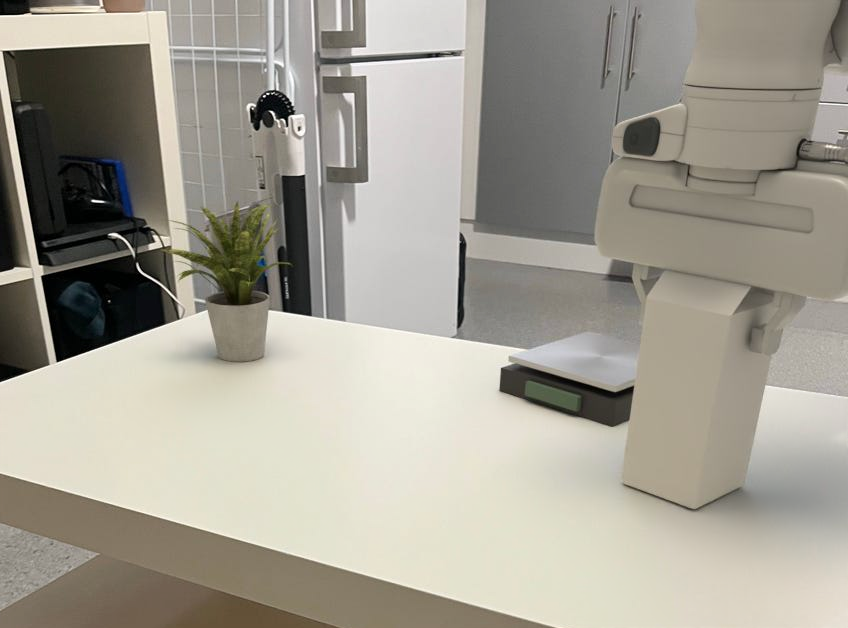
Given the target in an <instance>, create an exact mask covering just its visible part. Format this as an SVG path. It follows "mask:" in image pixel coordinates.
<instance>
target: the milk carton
mask: <svg viewBox="0 0 848 628" xmlns="http://www.w3.org/2000/svg"><path fill="white" fill-rule="evenodd" d="M774 293H775V290H770V289H765V288H760V287H754V286H749V285H744V284H739V283H734V282H729V281H724V280H719V279H713V278H708V277H703V276H698V275H693V274H688V273H683V272H678V271H673V270H667V269H664V270H663V274H662V275H661V276H660V277H658V279H657V282H656V284H655V285H654V287H653V288H652V290H651V291H650V292H649V294H648V295H647V300H646V307H645V314H644V321H643V325H642V328H641V330H642V331H641V337H640V343H639V344H640V350H639V357H638V364H637V371H636V378H635V385H634V392H633V399H632V406H631V413H630V420H628V421H629V422H628V427H627V435H626V443H625V449H624V455H623V464H622V471H621V476H620V482H621V483H622V484H624V485H626V486H629V487H632V488H635V489H637V490H640V491H643V492H645V493H648V494H651V495H652V496H653V495H654V496H656V497H658V498H662V499H665V500H666V501H670V502H672V503H675V504H678V505H681V506H683V507H686V508H689V509H691V510H696V509H698V508H701V507H702V506H705V505H706V504H708V503H709V504H710V502H713V501H715V500H717V499H719V498H721V497H723V496H725V495H727V494H729V493H731V492H733V491H735V490H737V489H739V488H741V487H744V485H745V483H746V479H747V473H748V469H749V464H750V459H751V456H752V450H753V446H754V441H755V436H756V432H757V427H758V421H759V417H760V412H761V407H762V403H763V398H764V394H765V389H766V384H767V379H768V374H769V370H770V366H771V360H772V355H773V354H771V355H769V356H768V355H764V354H759V353H755V352H751V351H750V350H749V343H750V342H751V341H752V339H751V333H752V329H753V327H756V326H761V325H762V324H765V323H766V324H768V322H769V321H770V320H771V319H772V317H773V316H774V315H775V314H776V312H777V311H778V310H779V308H780V307H773V305H772V303H773V298H774Z"/></svg>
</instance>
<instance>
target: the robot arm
mask: <svg viewBox="0 0 848 628" xmlns="http://www.w3.org/2000/svg"><path fill="white" fill-rule="evenodd" d="M694 15H695V16H694V17H695V24H696V25H695V26H696V37H695V38H696V39H695V46H694V51H693V54H692V57H691V60H690V63H689V65H688V67H687V69H686V72H685V74H684V79H683V84H682V92H681V97H680V101H679V102H678V103H677V104H674V105H670V106H666V107H664V108H661V109H658V110H656V111H652V112H648V113H645V114H642V115H639V116H636V117H632V118H629V119H625V120H623V121H621V122H619V123H617V124H616V125H615V126H614V128H613V130H612V137H611V149H612V152H613V153H614V155H617V156H619V157H617V158H616V159H614V160H613V161H612V162H611V163H610V165H609V166H608V167H607V169H606V171H605V175H604V176H603V180H602V183H601V184H602V185H601V189H600V194H599V197H598V204H597V209H596V210H597V211H596V216H595V225H594V235H593V236H594V243H595V246H596V248H597V250H598V252H599V254H600V256H601V257H603V258H607V259H611V260H617V261H621V262H626V263H627V262H628V263H633V266H632V272H631V279H632V283H633V285H634V288H635V291H636V294H637V297H638V299H639V302H640V303H641V304H640V311H639V318H638V324H639V325H640V326H643V321H644V314H645V307H646V300H647V295H648V294H649V292H650V291H651V290H652V288H653V287H654V285H655V284H656V282H657V281H658V279H657V278H660V277H661V275H662V274H663V272H664V271H665V269H667V270H673V271H678V272H683V273H688V274H693V275H698V276H703V277H708V278H713V279H719V280H724V281H729V282H734V283H739V284H744V285H749V286H754V287H760V288H765V289H770V290H775V293H774V298H773V303H772V305H773V307H780V308H779V310H778V311H777V312H776V314H775V315H774V316H773V317H772V319H771V320H770V321H769V322H768V324H766V323H765V324H762V325H761V326H756V327H753V329H752V333H751V339H752V341H751V342H750V343H749V350H750V351H751V352H755V353H759V354H764V355H768V356H769V355H771V354H772V355H775V354H776V353H777V352H778V351H779V349H780V345H781V343H782V341H781V340H782V338H783V337H782V336H783V332H784V329H785V328H787V326H788V325H789V324H790V323H791V322H792V321H793V320H794V319H795V317H796V316H797V315H798V314H799V313H800V312H801V311H802V309H803V308H804V307H806V302H807V298H811V299H817V300H822V301H835V300H838V299H841V298H845V297H847V296H848V145H841V144H836V143H832V142H827V141H818V140H817V141H816V140H812V137H813V134H814V133H813V132H814V128H815V124H816V120H817V114H818V109H819V105H820V100H821V95H822V92H823V87H824V81H825V80H824V79H825V75H832V76H842V77H848V0H695V5H694Z"/></svg>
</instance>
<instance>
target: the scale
mask: <svg viewBox="0 0 848 628" xmlns="http://www.w3.org/2000/svg"><path fill="white" fill-rule="evenodd" d="M498 389H499V392H502V393H505V394H509V395H511V396H515V397H518V398H521V399H524V400H528V401H530V402H533V403H537V404H539V405H543V406H547V407H550V408H553V409H555V410H559V411H561V412H565V413H568V414H571V415H575V416H578V417H582V418H584V419H587V420H591V421H594V422H597V423H600V424H603V425H605V426H609V427H614V426H615V427H616V426H617V425H620V424H622V423H625V422H627V421H629V420H630V413H631V406H632V399H633V392H634V386H631V387H629V388H626V389H623V390H620V391H618V392H612V391H609V390H605V389H602V388H598V387H595V386H591V385H588V384H585V383H581V382H578V381H574V380H571V379H567V378H564V377H561V376H557V375H554V374H550V373H547V372H543V371H540V370H536V369H533V368H530V367H526V366H523V365H519V364H516V363H511V364H509V365H505V366H503V367H500V377H499V388H498Z"/></svg>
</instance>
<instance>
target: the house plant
mask: <svg viewBox="0 0 848 628" xmlns="http://www.w3.org/2000/svg"><path fill="white" fill-rule="evenodd" d="M271 205H272V203H267V204H264V205H261V206H257V207H254V208H252V209H251V210H250V211H249V212H248V213H247V214H246V216H245V218H244V221H243V223H242V226H241V225H240V221H241V219H240V218H241V217H240V207H239V201H238V200H236V202H235V205H234V209H233V216H232V221H231V226H230V228H231V230H230V229H229V226H228V224H227V223H226V222H225V221H224V220H223V219H222V218H217V217H216V215H215V214H214V213H213V212H212V211H211V210H209V209H208V208H206V207H204V206H202V205H198V207H200V209H201V210H202V212H203V214H204V215H205V216H206V217H207V219H208V220H209V223H210V224H211V228H212V230H213V233H214V236H215V237H216V239H217V242H218V244H219V246H220V249H221V251H222V252H221V251H220V249H219V248H218V247H217V246H216V245H215V244H214V243H213V242H212V241H211V240H210V239H209V238H208V237H207V236H206V235H204V234H203V233H202V232H201V231H200V230H198V229H196V228H195V227H193V226H192V225H189V224H187V223H184V222H181V221H177V220H171V219H165V222H172V223H176V224H181V225H182V226H183V227H182V228H179V227H178V228H177V227H176V228H175V227H174V228H173V229H174V230H182V231H185V232H188V233H189V234H191V235H193V236H194V237H195V238H197V239H198V241H200V243H201V244H202V245H203V246H204V249H205V250H206V251H207V253H208V255H209V256H207V255H205V254H201V253H197V252H193V251H189V250H184V249H175V248H174V249H173V248H172V249H167V248H165V249H164V248H163V249H161V251H162V252H164V253H166V254H170V255H171V254H172V255H175V256H179V257H181V258H182V259H186V260H188V261H190V262H192V263H195V264H196V267H198V266H199V265H200V266H202V267H205V268H207V270H210V271H211V272H212V273H213V274H212V273H209V272H207V271H204V270H201V269H197V268H195V267H193V266H192V265H191V264H189V263H187V262H184V261H180V260H174V262H175V263H182V264H185V265H187V266H189V267H190V268H192V269H187V270H184V271H182V272H180V273H179V274H177V276H176V278H178V277H179V279H178V281H177V283H179V282H180V281H181V280H183V279H184V278H186V277H188V276H190V275H193V274H197V273H198V274H199V275H200V276H201V277H202V278H204V279H205V280H207V281H208V282H209V283H210V284H211V285H212V286H213V287H214V288H215V289H216V290H217V291H218V292H214V293H211V294H210V295H207V296H206V297H205V299H204V303H205V306H206V310H207V315H208V318H209V322H210V326H211V327H210V328H211V331H212V334H213V338H214V339H213V340H214V343H215V347H216V351H217V356H218V357H219V359H221V360H224V361H228V362H237V363H238V362H239V363H240V362H251V361H256V360H259V359H261V358H263V357H264V355H265V349H266V348H265V347H266V338H267V330H268V320H269V309H270V300H271V296H270V295H269V294H267V293H265V292H263V291H257V290H253V289H254V286H255V285H256V283H257V282H258V280H259V278H260V277H261V276H262V275H263V274H264V272H266V271H267V270H268V269H271V268H272V267H274V266H278V265H283V264H284V265H291V263H290V262H288V261H277V262H274V263H271V264H270V265H262V264H261V265H260V264H259V263H260V262H261V261H262V259H264V260H265V261H267V256H266V255H261V254H262V251H263V250H264V248H265V247H266V246H267V245H268V243H269V242H270V240H271V238H272V237H273V235H274V234H275V233H277V232H278V230H279V229H280V227H281V226H278V227H277V228H276V229H274V230H273V228H274V227H275V225H276V223H277V221H278V219H279V216H278V217H277V219H276V220H275V221H274V223H272V225H271V227H270V228H269V230H268V231H267V233H266V235H265V237H264V239H263V240H262V241H261V243H259V241H260V238H261V237H262V234H263V232H264V230H265V228H266V225H267V222H268V219H269V217H270V214H271V212H272V211H271V210H269V212H268V213H267V214H266V216H265V218H264V219H263V221H262V223H261V225H260V228H259V230H258V233H257V229H258V227H259V224H260V222H261V220H262V218H263V216H264V214H265V211H266V209H267V208H268V207H270V206H271ZM159 220H161V221H163V219H162V218H161V219H159ZM218 220H219V221H220V223H221V225H222V226H221V225H220V224H219V221H218ZM240 226H241V227H240ZM185 227H186V228H185ZM230 231H231V232H230ZM256 233H257V234H256ZM255 235H256V237H255ZM258 243H259V245H258ZM292 267H293V268H294V266H292ZM205 276H208V277H209V278H211V279H212V280H213V281H215V282H216V284H217V285H218V286H219V287H220V289H222V291H221V290H220V289H219V288H218V287H217V286H216V285H215V284H214V283H213V282H211V280H209V279H208V278H207V277H205Z"/></svg>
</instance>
